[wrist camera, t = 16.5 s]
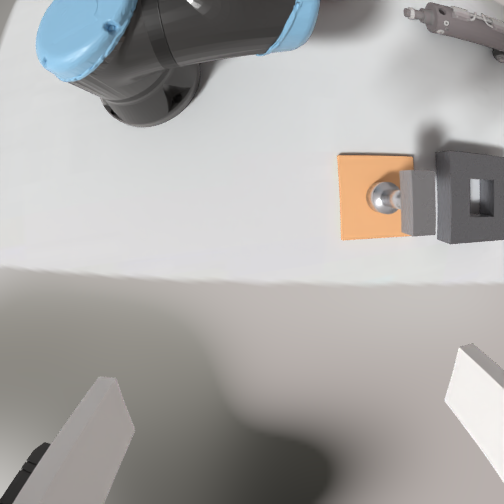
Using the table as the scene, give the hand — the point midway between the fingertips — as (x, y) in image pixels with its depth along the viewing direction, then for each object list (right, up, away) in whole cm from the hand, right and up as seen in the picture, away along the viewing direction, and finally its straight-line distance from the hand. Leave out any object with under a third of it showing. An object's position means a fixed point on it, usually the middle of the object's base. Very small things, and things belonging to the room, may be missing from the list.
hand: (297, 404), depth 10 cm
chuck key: (+17, +13, +32) cm, 38 cm away
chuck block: (+35, +15, +32) cm, 50 cm away
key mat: (+17, +13, +32) cm, 39 cm away
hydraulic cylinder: (+41, +46, +26) cm, 67 cm away
